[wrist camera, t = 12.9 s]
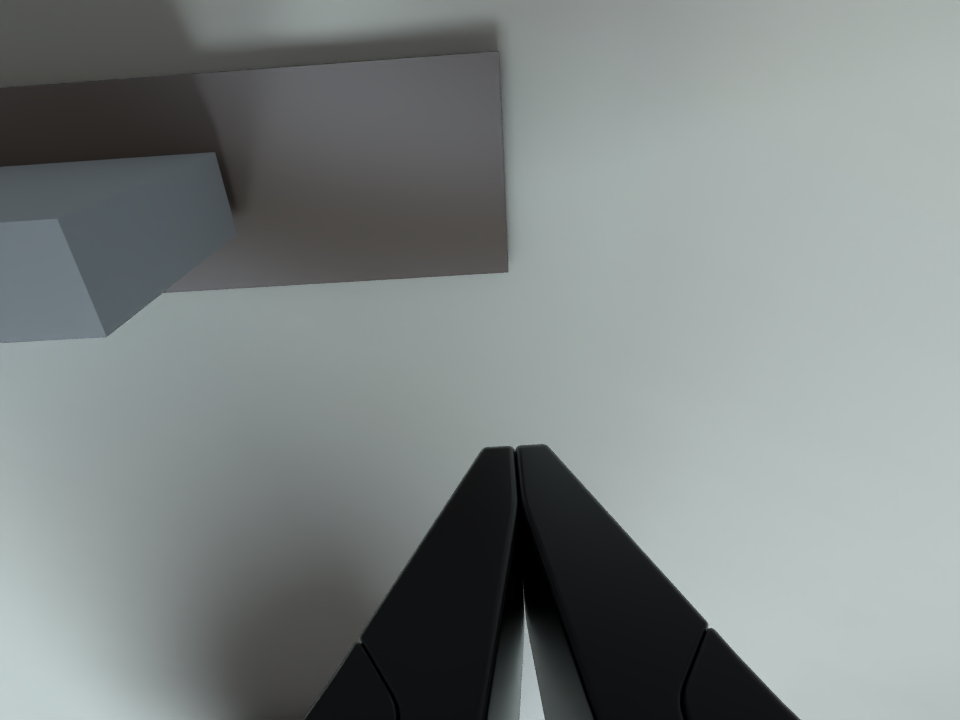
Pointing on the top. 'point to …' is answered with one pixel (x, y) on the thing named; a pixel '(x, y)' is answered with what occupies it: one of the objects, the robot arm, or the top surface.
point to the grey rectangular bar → (306, 161)
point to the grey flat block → (102, 239)
